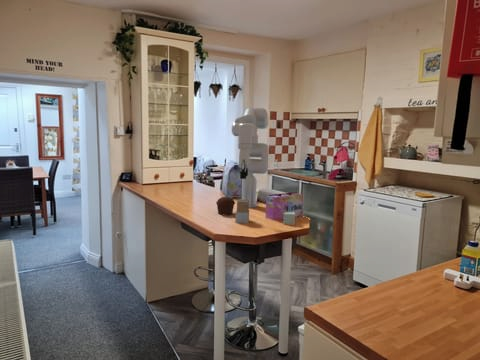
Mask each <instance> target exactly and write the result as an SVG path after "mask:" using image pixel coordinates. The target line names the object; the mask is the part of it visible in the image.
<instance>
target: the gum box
mask: <svg viewBox="0 0 480 360" xmlns="http://www.w3.org/2000/svg"><path fill="white" fill-rule="evenodd" d="M303 207H304V193H302V194H301V193H298V192H297V191H295V192H284V193H276V194H275V193H273V194H267V195H266V201H265V218H266V219H268V220H272V221H277V220H283V219H284V211H286V212H295V218H298V217H303ZM297 216H298V217H297Z"/></svg>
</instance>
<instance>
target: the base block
mask: <svg viewBox="0 0 480 360" xmlns="http://www.w3.org/2000/svg"><path fill="white" fill-rule="evenodd" d="M234 221H235V222H234V223H236V224H249V221H250V210H249V211H248V213H244V212H237V209H236V210H235V219H234Z"/></svg>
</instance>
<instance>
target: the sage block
mask: <svg viewBox="0 0 480 360" xmlns="http://www.w3.org/2000/svg"><path fill="white" fill-rule="evenodd" d="M282 220H283V221H282V223H283V225H285V226H286V225H287V226H295V222H296V221H295V220H296V217H295V212H286V211H284V219H282Z"/></svg>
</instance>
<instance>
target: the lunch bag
mask: <svg viewBox="0 0 480 360" xmlns="http://www.w3.org/2000/svg"><path fill="white" fill-rule="evenodd" d="M240 171H241V167H239V161H236V160H234V159H231V160H229V161H228V162H227V163H226V164H225V166H224V167H223V171H222V186H221V192H222V193H223V194H224V195H225V197H230V198H232V199H233V198H238V199H242V179H240Z"/></svg>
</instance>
